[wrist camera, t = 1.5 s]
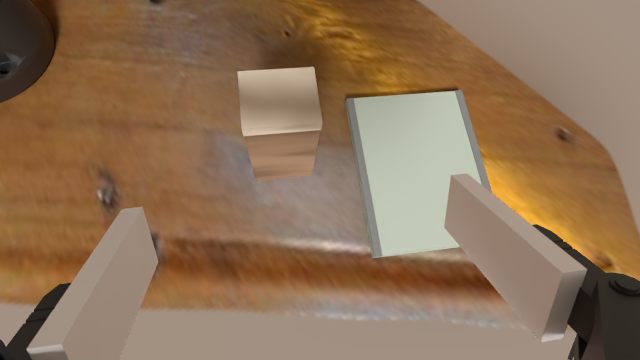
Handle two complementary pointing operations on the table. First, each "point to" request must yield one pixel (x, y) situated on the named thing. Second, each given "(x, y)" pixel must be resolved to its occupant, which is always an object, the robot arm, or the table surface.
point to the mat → (411, 166)
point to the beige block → (280, 121)
